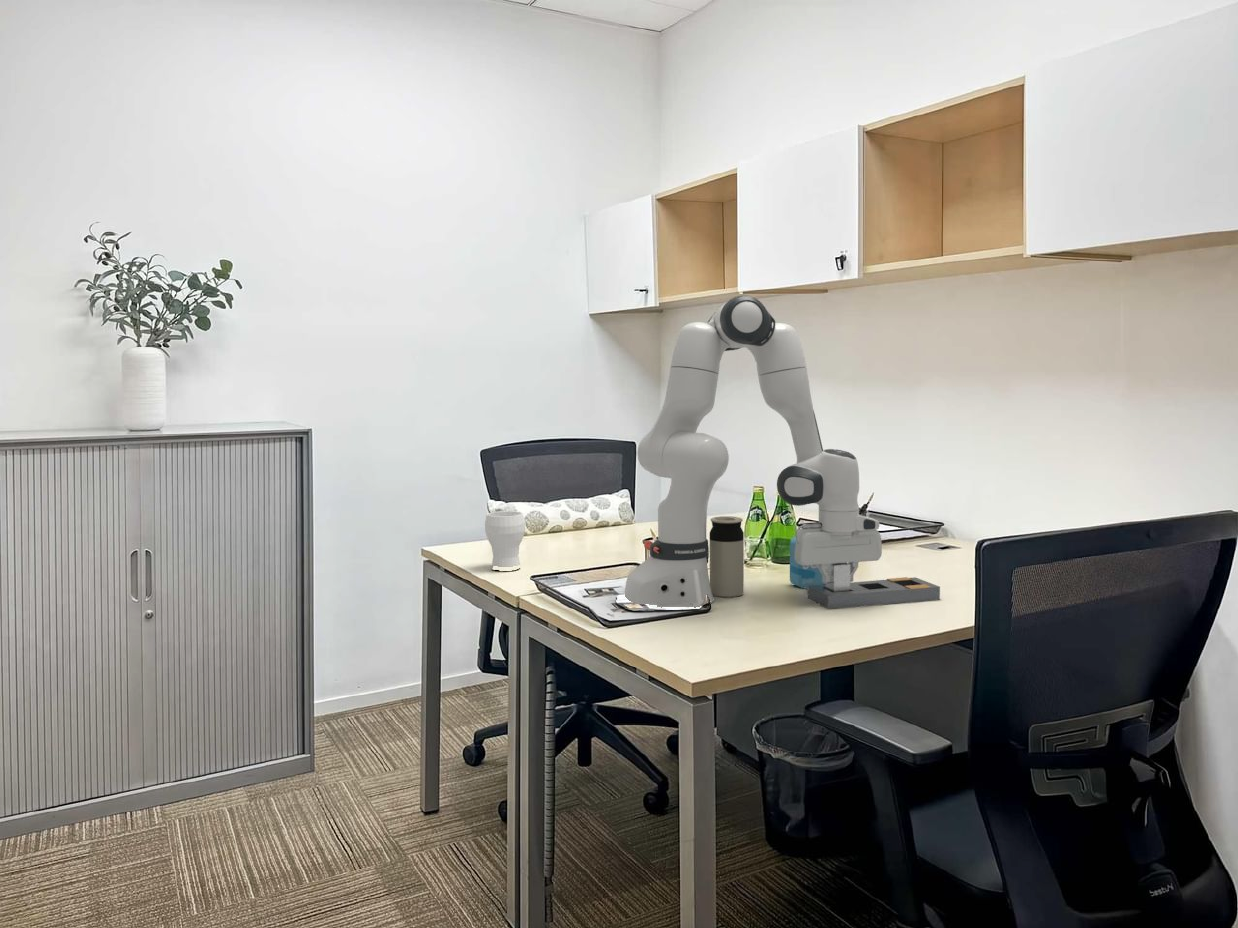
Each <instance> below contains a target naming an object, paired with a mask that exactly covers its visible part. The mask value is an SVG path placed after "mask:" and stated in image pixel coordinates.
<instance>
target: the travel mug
mask: <svg viewBox="0 0 1238 928" xmlns="http://www.w3.org/2000/svg"><path fill="white" fill-rule="evenodd" d="M710 522H711V524H712V525H711V529H710V530H709V582H710V587H711V592H712V595H713V597H717V598H736V597H737V598H738V597H740V596H742V595H743V594H744V592H745V591H744V590H745V589H744V587H745V586H744V585H745V583H744V582H745V578H744V575H745V572H744V571H745V569H744V565H745V563H744V560H745V559H744V558H745V557H744V555H745V554H744V545H745V544H744V543H745V541H744V540H745V539H744V536H745V534H744V533H745V532H744V530H743V528H742V527H741V526H742V522H743V518H742V517H739V516H733V515H732V516H728V515H727V516H725V515H724V516H723V515H722V516H721V515H720V516H714V517H713V516H712V517H711V518H710Z"/></svg>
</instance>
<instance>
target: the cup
mask: <svg viewBox="0 0 1238 928" xmlns="http://www.w3.org/2000/svg"><path fill="white" fill-rule="evenodd" d="M525 532H526V521H525V517H524V514H523V512H521V511H515V510H501V511H492V512H489V513H486V517H485V522H484V533H485V534H486V537H487V541H488V543H489V544H490V546H491V550H492V563H491V566H492V565H493V566H498V567H513V566H518V565H520V566H521V562H520V557H519V553H520V552H519V551H520V545H521V543H522V541H523V539H524V535H525Z"/></svg>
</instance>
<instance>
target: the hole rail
mask: <svg viewBox="0 0 1238 928" xmlns="http://www.w3.org/2000/svg"><path fill="white" fill-rule="evenodd" d="M940 596H941V586H939V585H936V584H935V583H931V582H929V581H926V580H925V579H924V580H923V579H921V578H918V577H916V576H914V577H893V578H886V579H880V580H878V579H876V580H866V581H853V582H850V591H847V592H835V593H833V592H830V591H828V590H826V584H825V585H812V586H808V588H807V600H809V601H811V602H814V603H815V604H817V605H819V606H821V607H823V608H824V609H827V610H835V609H845V608H857V607H870V606H879V605H880V606H881V605H882V606H883V605H892V604H895V605H896V604H904V603H916V602H927V601H937V600H938V601H939V600H941V597H940Z"/></svg>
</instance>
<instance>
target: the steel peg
mask: <svg viewBox="0 0 1238 928" xmlns="http://www.w3.org/2000/svg"><path fill="white" fill-rule="evenodd" d="M826 572H827V574H828V575H831V576H832V579H831V580H832V582H831V583H827V584H826V590H828V591H830V592H833V593H835V592H847V591H850V564H848V563H837V564H828V566H827V569H826Z"/></svg>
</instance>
